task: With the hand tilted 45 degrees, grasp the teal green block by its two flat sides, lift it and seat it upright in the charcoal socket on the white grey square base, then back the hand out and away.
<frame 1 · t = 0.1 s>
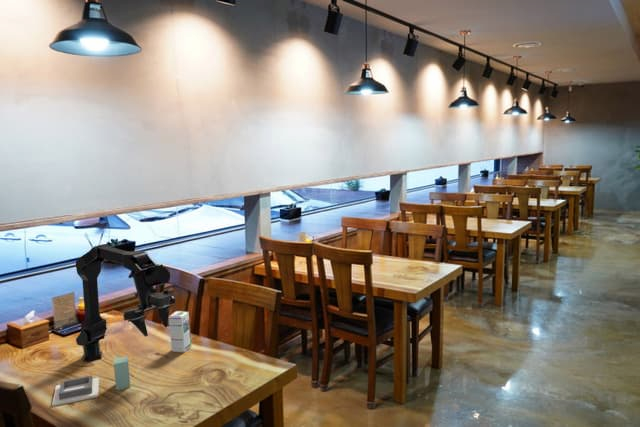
hand: (156, 331, 171), 15 cm above the table, tool pointing down, fingers open, 9 cm apart
teal green block: (123, 385, 166), on the table
syrup box: (181, 349, 194), on the table
white grey square base: (77, 392, 162), on the table
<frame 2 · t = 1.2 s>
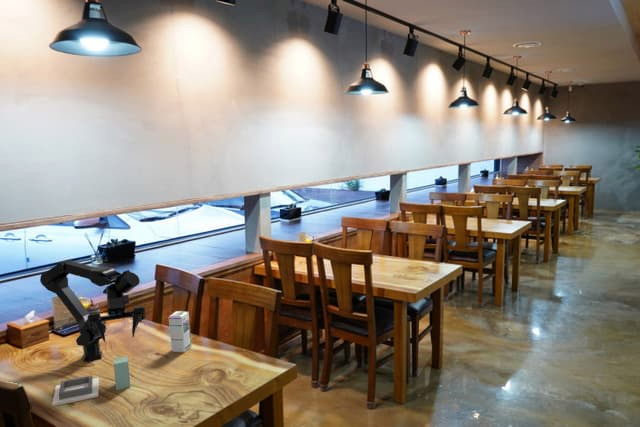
hand: (119, 339, 171), 13 cm above the table, tool tilted 45°, fingers open, 9 cm apart
nothing on the table moved.
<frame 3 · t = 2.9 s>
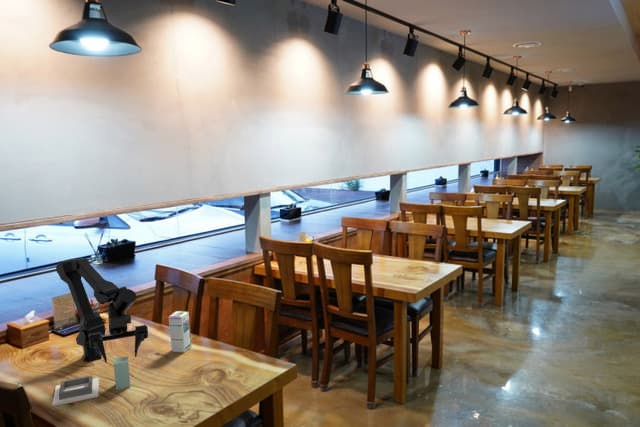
hand: (121, 359, 166), 9 cm above the table, tool tilted 45°, fingers open, 9 cm apart
nothing on the table moved.
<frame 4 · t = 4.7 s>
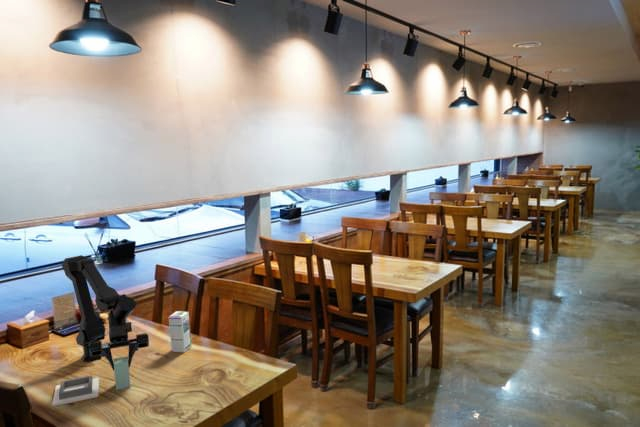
hand: (121, 368, 163), 7 cm above the table, tool tilted 45°, fingers closed on teal green block, 4 cm apart
teal green block: (123, 385, 166), on the table, touching gripper
everything else where it was.
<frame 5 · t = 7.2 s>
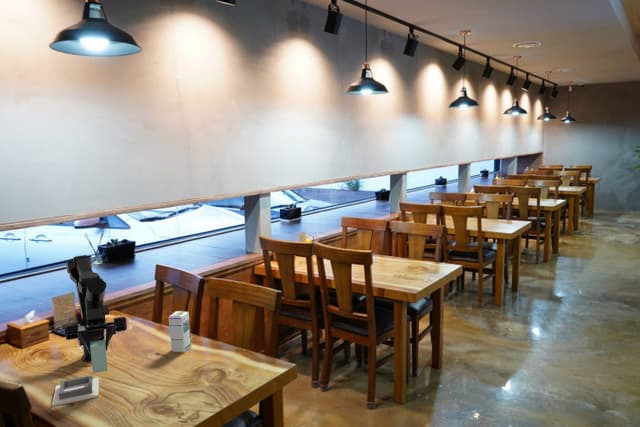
hand: (98, 351, 161), 13 cm above the table, tool tilted 45°, fingers closed on teal green block, 4 cm apart
teal green block: (100, 369, 163), point 7 cm above the table, touching gripper
everything else where it was.
when the fingers open (8 cm above the table, at t = 10.1 s): teal green block stays where it is, resting on white grey square base.
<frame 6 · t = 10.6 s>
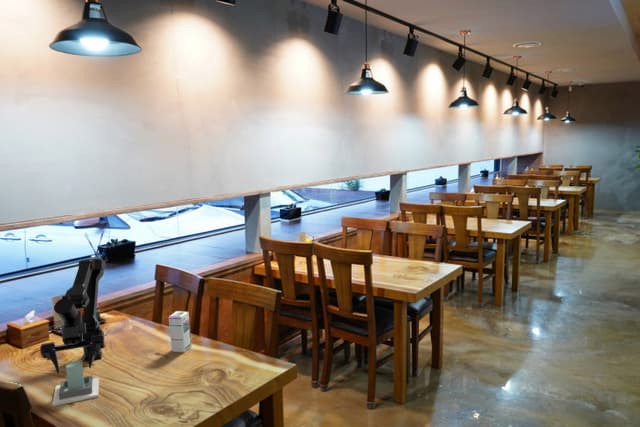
hand: (74, 370, 160), 8 cm above the table, tool tilted 45°, fingers open, 9 cm apart
teal green block: (76, 389, 162), point 1 cm above the table, touching white grey square base
everything else where it was.
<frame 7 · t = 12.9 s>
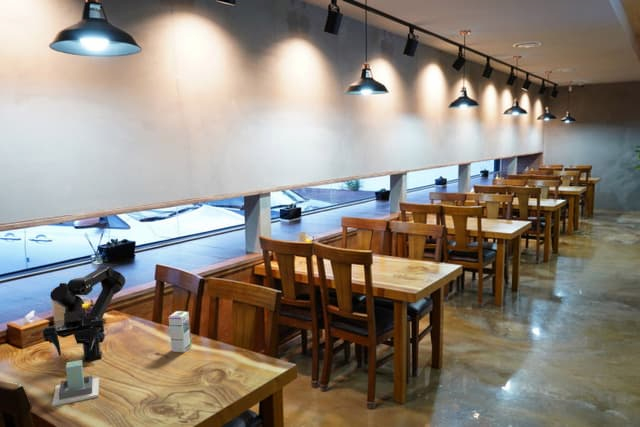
hand: (75, 353, 167), 11 cm above the table, tool tilted 45°, fingers open, 9 cm apart
nothing on the table moved.
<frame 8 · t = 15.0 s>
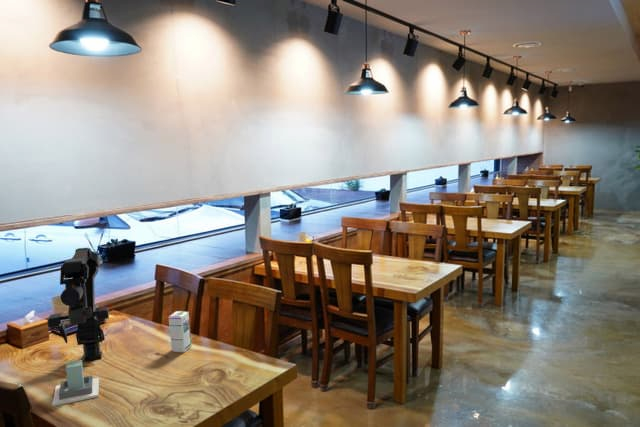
hand: (81, 340, 172), 13 cm above the table, tool pointing down, fingers open, 9 cm apart
nothing on the table moved.
at the end: teal green block 0.0 cm off-centre on the white grey square base, point 0.8 cm above the white grey square base's base; teal green block tilted 0°; the gripper is holding nothing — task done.
